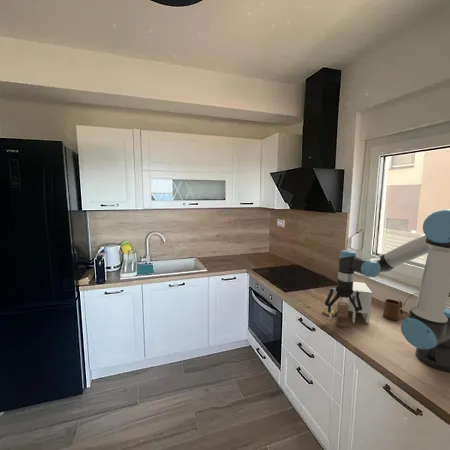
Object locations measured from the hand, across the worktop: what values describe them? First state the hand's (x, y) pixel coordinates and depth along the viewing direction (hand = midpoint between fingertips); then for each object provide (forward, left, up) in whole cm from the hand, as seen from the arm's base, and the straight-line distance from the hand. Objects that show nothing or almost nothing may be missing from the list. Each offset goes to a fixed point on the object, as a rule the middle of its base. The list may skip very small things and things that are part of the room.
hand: (341, 319), depth 136 cm
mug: (+21, -31, -3) cm, 38 cm away
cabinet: (+15, -9, -3) cm, 18 cm away
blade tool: (+7, 0, -3) cm, 8 cm away
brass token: (+12, +4, -3) cm, 13 cm away
